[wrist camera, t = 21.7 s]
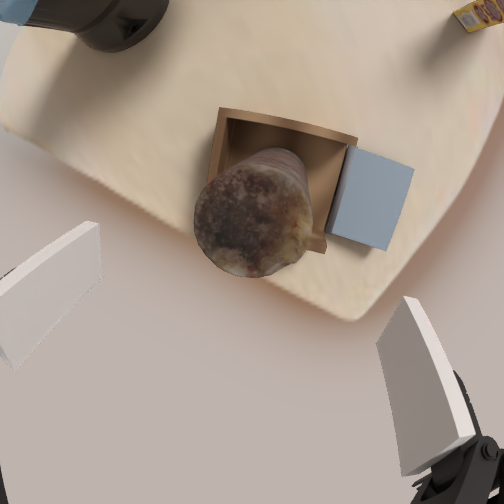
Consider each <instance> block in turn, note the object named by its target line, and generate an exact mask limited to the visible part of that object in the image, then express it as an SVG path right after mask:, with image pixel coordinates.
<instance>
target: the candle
mask: <svg viewBox="0 0 504 504" xmlns="http://www.w3.org/2000/svg"><path fill="white" fill-rule="evenodd" d="M312 226H313V217H312V209H311V202H310V194H309V189H308V181H307V174H306V170H305V167H304V164H303V162H302V161H301V159H300V158H299V157H298V156H297V155H296V154H295V153H294V152H292V151H290V150H288V149H286V148H282V147H270V148H266V149H263V150H261V151H259V152H257V153H255V154H254V155H252V156H250V157H248V158H247V159H245V160H244V161H241V162H239V163H238V164H236V165H234V166H232V167H230V168H229V169H227V170H225V171H223V172H222V173H220V174H219V175H217V176H216V177H215V178H214V179H213V180H212V181H211V182H210V183H209V184H208V185H207V186H206V187H205V188H204V189H203V191H202V192H201V194H200V196H199V198H198V200H197V203H196V205H195V213H194V232H195V235H196V238H197V242H198V245H199V246H200V247H201V249H202V250H203V252H204V253H205V255H206V256H207V257H208V258H209V259H210V260H211V261H212V262H213V263H214V264H215V265H216V266H217V267H218V268H220V269H222V270H223V271H226V272H228V273H230V274H233V275H235V276H240V277H250V278H260V277H263V276H269V275H272V274H273V273H275V272H276V271H278V270H280V269H281V268H283V267H285V266H287V265H289V264H291V263H296V262H297V261H298V260H299V259H300V258H301V257H302V255H303V254H304V252H305V251H306V248H307V245H308V243H309V240H310V238H311V233H312Z"/></svg>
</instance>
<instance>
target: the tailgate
mask: <svg viewBox="0 0 504 504" xmlns="http://www.w3.org/2000/svg"><path fill="white" fill-rule="evenodd" d="M413 172H414V169H413V168H410V167H408V166H405V165H403V164H400V163H398V162H395V161H392V160H390V159H387V158H384V157H381V156H378V155H376V154H373V153H370V152H367V151H364V150H361V149H358V147H355V146H352V145H348V149H347V153H346V157H345V161H344V165H343V169H342V172H341V176H340V180H339V183H338V187H337V191H336V194H335V198H334V201H333V205H332V208H331V212H330V215H329V218H328V222H327V225H326V228H325V232H326V233H328V234H336V235H339V236H342V237H345V238H348V239H351V240H354V241H357V242H360V243H363V244H366V245H369V246H372V247H375V248H378V249H381V250H384V251H386V250H387V248H388V245H389V243H390V240H391V238H392V235H393V232H394V230H395V227H396V224H397V221H398V219H399V216H400V213H401V210H402V207H403V204H404V201H405V198H406V195H407V192H408V189H409V186H410V182H411V179H412V176H413Z"/></svg>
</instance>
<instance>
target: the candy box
mask: <svg viewBox="0 0 504 504" xmlns="http://www.w3.org/2000/svg"><path fill="white" fill-rule="evenodd" d="M453 13H454V15H455V16H456V17H457V18H458V20H459V21H460V22H461V24H462V25H463V26H464V28H465V29H466V30H467V32H468V33H470V32H474V31H477V30H480V29H483V28H486V27H490V26H493V25H496V24H500V23H504V0H476V1H474V2H472V3H470V4H468V5H466V6H464V7H462V8H461V9H459V10H457V11H455V12H453Z"/></svg>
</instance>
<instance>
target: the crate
mask: <svg viewBox="0 0 504 504" xmlns="http://www.w3.org/2000/svg"><path fill="white" fill-rule="evenodd" d="M357 141H358V138H357V137H354V136H350V135H347V134H344V133H340V132H337V131H333V130H330V129H326V128H323V127H319V126H315V125H311V124H307V123H303V122H299V121H294V120H290V119H285V118H281V117H276V116H271V115H266V114H260V113H254V112H249V111H242V110H236V109H229V108H222V107H219V112H218V118H217V123H216V129H215V135H214V141H213V147H212V153H211V159H210V166H209V173H208V180H207V185H208V184H209V183H210V182H211V181H212V180H213V179H214V178H215V177H216V176H217V175H219V174H220V173H222V172H223V171H225V170H227V169H229V168H230V167H232V166H234V165H236V164H238V163H239V162H241V161H244V160H245V159H247V158H248V157H250V156H252V155H254V154H255V153H257V152H259V151H261V150H263V149H266V148H270V147H282V148H286V149H288V150H290V151H292V152H294V153H295V154H296V155H297V156H298V157H299V158H300V159H301V161H302V162H303V164H304V167H305V170H306V174H307V181H308V189H309V194H310V202H311V209H312V217H313V226H312V233H311V238H310V240H309V243H308V245H307V248H306V250H310V251H314V252H318V253H322V254H325V251H326V248H327V244H326V240H325V236H324V232H323V230H324V227H325V223H326V220H327V217H328V213H329V210H330V207H331V203H332V200H333V196H334V193H335V189H336V185H337V182H338V178H339V174H340V170H341V167H342V163H343V159H344V155H345V151H346V147H347V144H349V145H352V146H355V147H356V145H357Z"/></svg>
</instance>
